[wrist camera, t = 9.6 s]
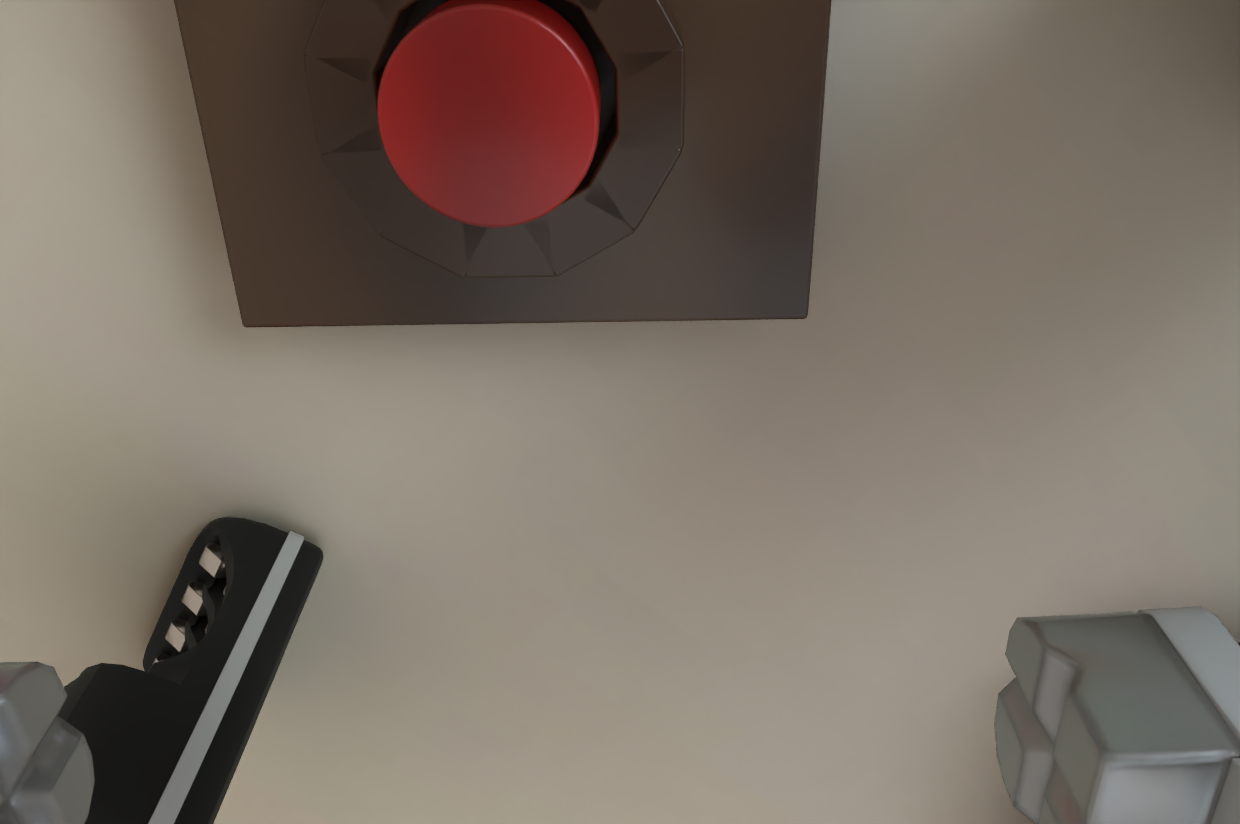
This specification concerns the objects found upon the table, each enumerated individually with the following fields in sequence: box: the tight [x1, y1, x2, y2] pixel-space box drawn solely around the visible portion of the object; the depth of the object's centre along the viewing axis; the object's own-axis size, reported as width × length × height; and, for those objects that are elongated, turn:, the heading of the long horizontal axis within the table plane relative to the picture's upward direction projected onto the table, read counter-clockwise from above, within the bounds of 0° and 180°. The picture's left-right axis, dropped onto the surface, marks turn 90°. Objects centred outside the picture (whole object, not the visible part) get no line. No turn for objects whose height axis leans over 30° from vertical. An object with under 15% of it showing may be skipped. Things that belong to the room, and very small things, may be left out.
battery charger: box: [58, 517, 323, 824], centre depth 23 cm, size 7×4×11 cm, turn 151°
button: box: [377, 0, 601, 228], centre depth 18 cm, size 4×4×2 cm
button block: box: [174, 0, 831, 327], centre depth 20 cm, size 12×10×4 cm
